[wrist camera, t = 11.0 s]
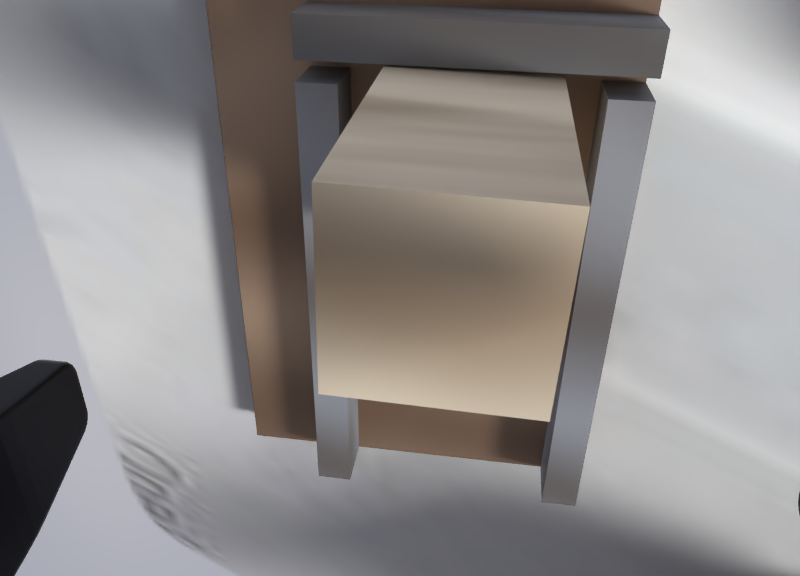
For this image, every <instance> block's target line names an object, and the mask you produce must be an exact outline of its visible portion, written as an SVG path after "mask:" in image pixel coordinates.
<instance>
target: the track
mask: <svg viewBox="0 0 800 576" xmlns="http://www.w3.org/2000/svg"><path fill="white" fill-rule="evenodd" d="M660 5H661V0H206V6H207V15H208V23H209V31H210V40H211V48H212V57H213V65H214V74H215V82H216V90H217V99H218V107H219V116H220V124H221V132H222V141H223V149H224V158H225V166H226V174H227V183H228V191H229V200H230V208H231V217H232V225H233V233H234V242H235V250H236V259H237V267H238V275H239V284H240V292H241V301H242V309H243V317H244V326H245V334H246V343H247V351H248V360H249V368H250V376H251V385H252V393H253V402H254V410H255V418H256V427H257V435H263V436H272V437H281V438H290V439H299V440H308V441H317V451H318V467H319V476H325V477H334V478H343V479H350V477H351V474H352V470H353V466H354V462H355V459H356V455H357V451H358V448H359V446H361V447H370V448H379V449H388V450H397V451H406V452H415V453H424V454H433V455H442V456H451V457H460V458H469V459H478V460H487V461H496V462H505V463H514V464H523V465H532V466H541V492H542V502H548V503H556V504H565V505H573V506H575V503H576V498H577V493H578V488H579V483H580V478H581V473H582V468H583V463H584V458H585V453H586V448H587V443H588V438H589V433H590V428H591V423H592V418H593V413H594V408H595V403H596V398H597V393H598V388H599V383H600V378H601V373H602V368H603V363H604V358H605V353H606V348H607V343H608V338H609V333H610V328H611V323H612V318H613V313H614V308H615V303H616V298H617V293H618V288H619V283H620V278H621V273H622V268H623V263H624V258H625V253H626V249H627V244H628V239H629V234H630V229H631V224H632V219H633V214H634V209H635V204H636V199H637V194H638V189H639V184H640V179H641V174H642V169H643V164H644V159H645V154H646V149H647V144H648V139H649V134H650V129H651V124H652V119H653V114H654V109H655V104H656V101H655V99H654V97H653V95H652V94H651V92H650V90H649V88H648V86H647V84H646V79H647V78H658V79H661V74H662V69H663V64H664V59H665V54H666V49H667V44H668V39H669V34H670V29H669V27H668V26H667V25H666V24H665V22H664V21H663V20H662V19H661V18H660V16H659V10H660ZM384 65H403V66H422V67H442V68H462V69H481V70H501V71H521V72H540V73H560V74H565V78H566V84H567V89H568V94H569V99H570V104H571V109H572V115H573V120H574V125H575V130H576V135H577V141H578V146H579V151H580V156H581V161H582V166H583V172H584V177H585V182H586V187H587V192H588V197H589V203H590V211H589V216H588V221H587V227H586V232H585V237H584V243H583V248H582V253H581V258H580V264H579V269H578V274H577V280H576V285H575V290H574V296H573V301H572V306H571V312H570V317H569V322H568V327H567V333H566V338H565V343H564V349H563V354H562V359H561V365H560V370H559V375H558V380H557V386H556V391H555V396H554V402H553V407H552V412H551V418H550V422H547V421H538V420H530V419H522V418H513V417H505V416H497V415H488V414H480V413H472V412H463V411H455V410H447V409H439V408H430V407H422V406H414V405H405V404H397V403H389V402H380V401H372V400H364V399H355V398H347V397H339V396H330V395H322V394H318V366H317V335H316V304H315V273H314V242H313V211H312V180H313V179H314V177H315V175H316V174H317V172H318V171H319V169H320V167H321V166H322V164H323V163H324V161H325V159H326V158H327V156H328V155H329V153H330V151H331V150H332V148H333V147H334V145H335V143H336V142H337V140H338V139H339V137H340V135H341V134H342V132H343V131H344V129H345V127H346V126H347V124H348V123H349V121H350V119H351V118H352V116H353V115H354V113H355V111H356V110H357V108H358V107H359V105H360V103H361V102H362V100H363V99H364V97H365V95H366V94H367V92H368V91H369V89H370V87H371V86H372V84H373V82H374V81H375V79H376V78H377V76H378V74H379V73H380V71H381V70H382V68H383V66H384Z"/></svg>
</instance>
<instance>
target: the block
mask: <svg viewBox="0 0 800 576" xmlns="http://www.w3.org/2000/svg"><path fill="white" fill-rule="evenodd" d="M312 211H313V242H314V273H315V304H316V335H317V366H318V394H322V395H330V396H339V397H347V398H355V399H364V400H372V401H380V402H389V403H397V404H405V405H414V406H422V407H430V408H439V409H447V410H455V411H463V412H472V413H480V414H488V415H497V416H505V417H513V418H522V419H530V420H538V421H547V422H550V418H551V412H552V407H553V402H554V396H555V391H556V386H557V380H558V375H559V370H560V365H561V359H562V354H563V349H564V343H565V338H566V333H567V327H568V322H569V317H570V312H571V306H572V301H573V296H574V290H575V285H576V280H577V274H578V269H579V264H580V258H581V253H582V248H583V243H584V237H585V232H586V227H587V221H588V216H589V211H590V203H589V197H588V192H587V187H586V182H585V177H584V172H583V166H582V161H581V156H580V151H579V146H578V141H577V135H576V130H575V125H574V120H573V115H572V109H571V104H570V99H569V94H568V89H567V84H566V78H565V74H560V73H540V72H521V71H501V70H481V69H462V68H442V67H422V66H403V65H384V66H383V68H382V70H381V71H380V73H379V74H378V76H377V78H376V79H375V81H374V82H373V84H372V86H371V87H370V89H369V91H368V92H367V94H366V95H365V97H364V99H363V100H362V102H361V103H360V105H359V107H358V108H357V110H356V111H355V113H354V115H353V116H352V118H351V119H350V121H349V123H348V124H347V126H346V127H345V129H344V131H343V132H342V134H341V135H340V137H339V139H338V140H337V142H336V143H335V145H334V147H333V148H332V150H331V151H330V153H329V155H328V156H327V158H326V159H325V161H324V163H323V164H322V166H321V167H320V169H319V171H318V172H317V174H316V175H315V177H314V179H313V180H312Z"/></svg>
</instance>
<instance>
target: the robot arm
mask: <svg viewBox="0 0 800 576" xmlns="http://www.w3.org/2000/svg"><path fill="white" fill-rule="evenodd" d="M87 420H88V413H87V408H86V405H85V401H84V397H83V393H82V390H81V386H80V383H79V379H78V376H77V372H76V370H75V368H74V367H73V365H71V364H69V363H68V362H62V361H52V360H37V361H34V362H32V363H30V364H28V365H26V366H24V367H22V368H20V369H17V370H15V371H13V372H11V373H9V374H7V375H5V376H3V377H1V378H0V576H15V574H16V572H17V570H18V569H19V567H20V565H21V564H22V562H23V560H24V558H25V557H26V555H27V553H28V551H29V549H30V548H31V546H32V544H33V542H34V540H35V539H36V537H37V535H38V533H39V531H40V529H41V527H42V525H43V523H44V521H45V519H46V517H47V514H48V512H49V510H50V508H51V505H52V503H53V501H54V499H55V497H56V494H57V492H58V490H59V487H60V485H61V483H62V481H63V479H64V476H65V474H66V472H67V470H68V468H69V465H70V463H71V460H72V459H73V456H74V454H75V452H76V450H77V447H78V445H79V443H80V441H81V439H82V437H83V434H84V432H85V429H86V425H87ZM798 506H799V514H800V493H799V500H798Z"/></svg>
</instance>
